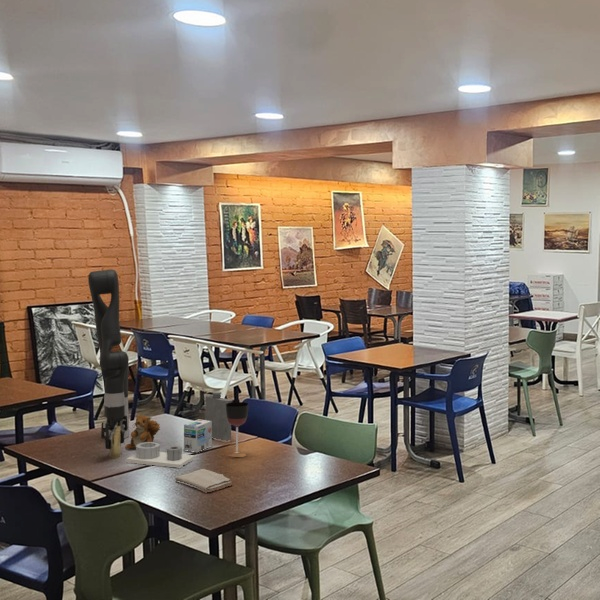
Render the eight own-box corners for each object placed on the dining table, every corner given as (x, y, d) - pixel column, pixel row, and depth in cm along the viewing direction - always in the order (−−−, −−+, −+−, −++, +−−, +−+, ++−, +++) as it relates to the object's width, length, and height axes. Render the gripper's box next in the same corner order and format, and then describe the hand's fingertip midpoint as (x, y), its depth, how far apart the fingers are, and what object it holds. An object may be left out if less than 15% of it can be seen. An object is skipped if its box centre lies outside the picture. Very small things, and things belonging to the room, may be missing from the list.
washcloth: (207, 495, 223) (207, 486, 223) (173, 483, 235) (173, 474, 235) (234, 487, 232) (234, 478, 232) (200, 475, 244) (200, 466, 244)
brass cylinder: (113, 454, 266) (113, 424, 265) (122, 455, 264) (122, 425, 264) (107, 457, 262) (107, 426, 261) (116, 458, 261) (116, 427, 260)
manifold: (126, 462, 256) (126, 448, 256) (143, 453, 267) (143, 439, 267) (180, 468, 249) (180, 453, 249) (194, 459, 261) (194, 445, 260)
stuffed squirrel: (123, 449, 273) (122, 417, 272) (142, 440, 286) (142, 409, 285) (145, 452, 270) (145, 419, 269) (163, 443, 283) (163, 411, 282)
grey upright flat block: (232, 441, 286) (232, 394, 284) (224, 443, 283) (224, 395, 281) (210, 434, 297) (210, 388, 296) (202, 435, 294) (202, 389, 293)
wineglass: (250, 457, 264) (251, 405, 263) (228, 459, 261) (228, 407, 260) (244, 451, 272) (244, 401, 270) (223, 453, 268) (223, 403, 267)
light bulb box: (197, 453, 268) (197, 426, 268) (183, 451, 271) (183, 424, 271) (212, 446, 278) (212, 420, 277) (198, 444, 281) (198, 418, 280)
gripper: (116, 399, 270) (116, 440, 271) (94, 407, 256) (95, 450, 257) (133, 400, 267) (133, 442, 268) (112, 408, 254) (112, 451, 255)
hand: (114, 445), depth 263 cm, fingers open, 8 cm apart
